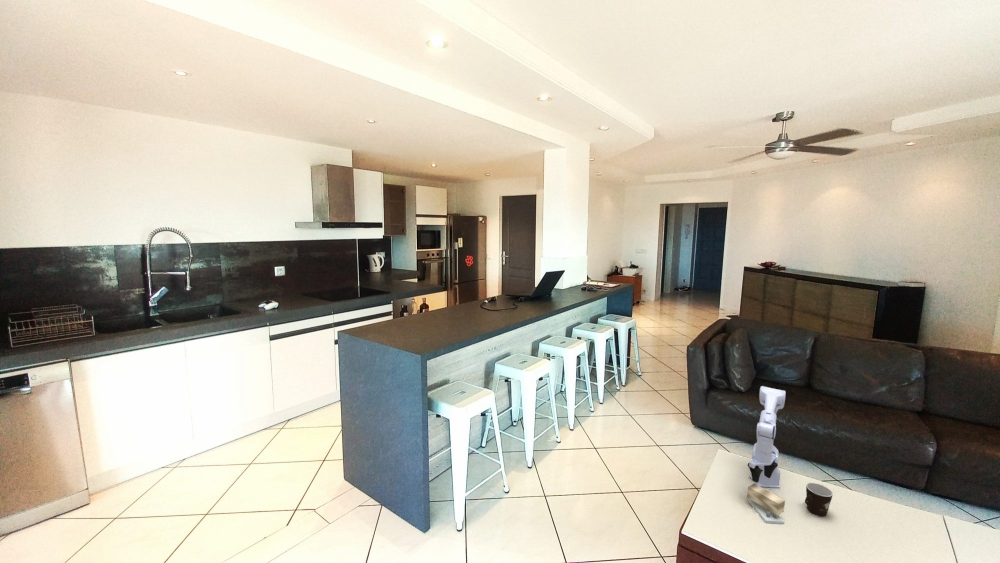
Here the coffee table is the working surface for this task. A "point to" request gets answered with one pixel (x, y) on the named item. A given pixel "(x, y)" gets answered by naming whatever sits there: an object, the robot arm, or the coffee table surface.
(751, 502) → the peg plate
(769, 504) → the wooden block
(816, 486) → the coffee mug
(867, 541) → the coffee table surface
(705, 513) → the coffee table surface
